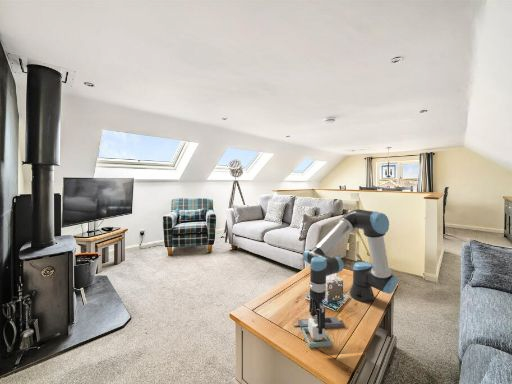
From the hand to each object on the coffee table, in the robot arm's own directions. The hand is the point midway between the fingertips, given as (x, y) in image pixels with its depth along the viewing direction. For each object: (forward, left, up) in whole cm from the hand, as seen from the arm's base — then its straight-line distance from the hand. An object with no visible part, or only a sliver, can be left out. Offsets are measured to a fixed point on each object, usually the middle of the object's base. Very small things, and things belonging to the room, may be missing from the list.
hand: (316, 333), depth 111 cm
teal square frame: (0, 0, -4) cm, 4 cm away
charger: (0, 0, -2) cm, 2 cm away
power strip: (-5, -9, -4) cm, 11 cm away
